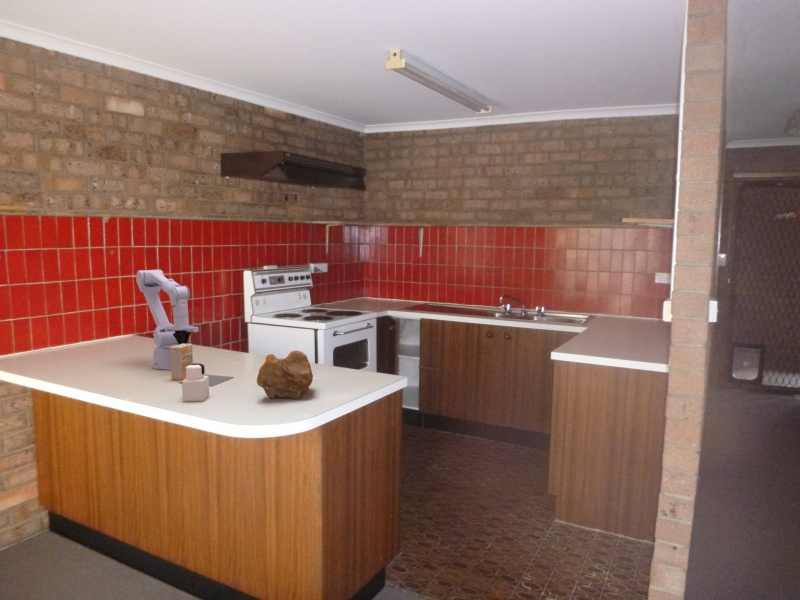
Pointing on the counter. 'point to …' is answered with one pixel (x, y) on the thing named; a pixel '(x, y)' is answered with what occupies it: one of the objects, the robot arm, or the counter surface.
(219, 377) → the mat
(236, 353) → the counter surface
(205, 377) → the medicine bottle
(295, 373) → the rough brown rock
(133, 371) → the counter surface
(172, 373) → the supplement box
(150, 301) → the robot arm
